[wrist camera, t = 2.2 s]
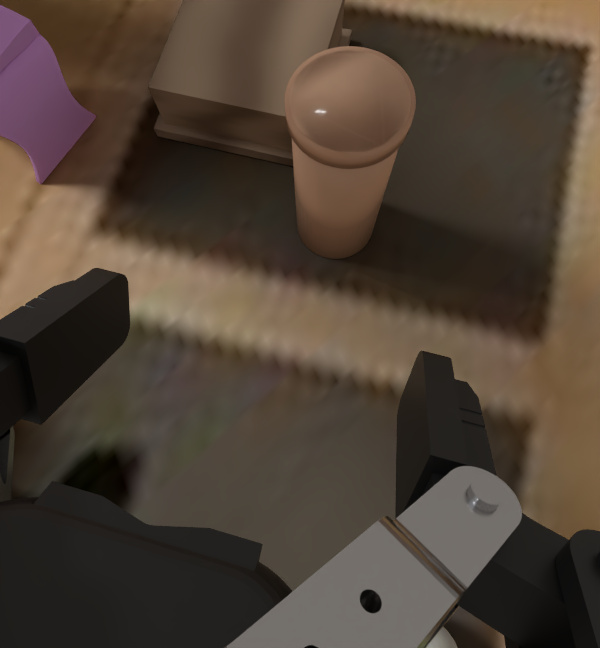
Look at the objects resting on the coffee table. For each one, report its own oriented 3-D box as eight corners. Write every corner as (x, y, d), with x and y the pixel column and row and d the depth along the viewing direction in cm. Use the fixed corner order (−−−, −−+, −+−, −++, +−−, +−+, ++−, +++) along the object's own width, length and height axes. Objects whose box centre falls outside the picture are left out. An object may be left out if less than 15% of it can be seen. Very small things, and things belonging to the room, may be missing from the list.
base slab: (157, 136, 31) (135, 93, 27) (206, 11, 33) (192, -45, 29) (312, 170, 30) (312, 131, 26) (350, 39, 32) (356, -15, 28)
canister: (284, 250, 28) (269, 141, 18) (305, 178, 30) (303, 35, 19) (366, 270, 28) (401, 170, 17) (384, 196, 29) (427, 59, 18)
